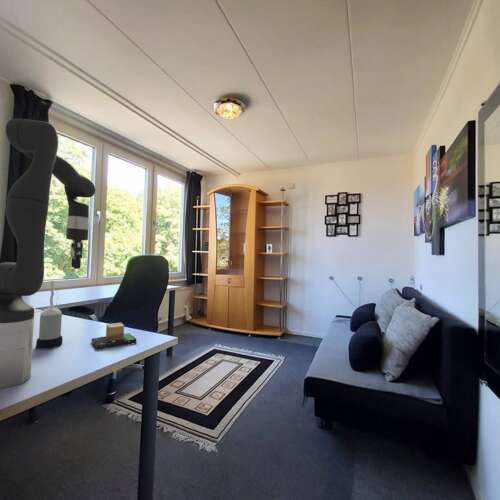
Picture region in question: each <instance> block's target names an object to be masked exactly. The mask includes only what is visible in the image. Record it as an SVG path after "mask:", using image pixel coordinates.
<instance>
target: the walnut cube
mask: <svg viewBox="0 0 500 500" xmlns="http://www.w3.org/2000/svg"><path fill="white" fill-rule="evenodd" d="M105 331H106V332H105V336H106V339H107V340H108V341H115V340H121V339H124V334H125V325H124V324H123V323H122V322H117V323H108V324H106V330H105Z"/></svg>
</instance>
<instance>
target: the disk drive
mask: <svg viewBox="0 0 500 500" xmlns="http://www.w3.org/2000/svg"><path fill="white" fill-rule="evenodd" d="M137 340H138V339H137V338H136V337H135V336H134V335H132V334H131V333H130V332H129V333H124V339H121V340H115V341H108V340H107V339H106V335H105V336H99V337H94V338H91V342H90V343H91V345H92V346H93V348H94V350H95V351H100V350H105V349H106V350H107V349H110V348H116V347H122V346H123V345H124V346H128V344H130V345H133V344H132V343H135V344H137ZM124 346H123V347H124Z"/></svg>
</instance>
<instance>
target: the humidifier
mask: <svg viewBox="0 0 500 500" xmlns="http://www.w3.org/2000/svg"><path fill="white" fill-rule="evenodd" d="M58 286H59V285H57V287H56V291H58V290H59V289H58ZM54 295H55V291H54V280H51V282H50V298H49V307H47V308H46V309H44V310H42V311H41V313H40V317H39V329H38V338H36V343H35V349H38V350H49V349H56V348H58V347H60V346H62V345H63V341H64V340H63V338H64V337H63V336H62V335H61V334H62V317H63V315H62V311H61V309H59V308H57V306H58V303H56V306H54V301H53V299H54ZM58 298H59V294H58V293H57V297H56V299H58Z"/></svg>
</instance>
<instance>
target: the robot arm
mask: <svg viewBox="0 0 500 500" xmlns="http://www.w3.org/2000/svg"><path fill="white" fill-rule="evenodd" d="M5 135H6V138H7V140H8V142H9V143H10V144H11V145H12V147H14V148H15V149H16V150H17V151H19V152H20V153H22V154H23V155H24V156H27V157H28V158H29V159H31V160H32V161H31V163H30V165H29V168H28V169H27V170H26V171H25V172H24V173H23V174H22V175H21V176H20V177H19V178H18V179H17V180H16V181H15V182H14V184H12V186H11V187H10V188H9V190H8V192H7V193H8V194H7V199H6V208H5V216H6V217H5V218H6V221H7V223H8V225H9V228H10V229H11V232H12V233H13V236H14V237H15V239H16V244H17V245H16V246H17V256H16V262H9V261H8V262H0V389H3V388H7V387H13V386H17V385H22V384H24V383H25V382H26V381H27V380H29V379H30V378H31V374H32V356H33V340H34V339H33V337H34V325H35V322H34V320H35V308H34V307H33V306H31V305H30V304H28V303H26V302H25V300H24V299H23V297H28V296H30V297H31V296H33V295H35V294H36V293H37V292H38V291H40V289H41V287H42V285H43V282H44V277H45V238H46V226H47V219H48V212H49V205H50V204H49V203H50V191H51V183H52V177H53V176H54V177H55V178H56V179H57V180H58V181H59V182H60V183H61V184H62V185H63V187H64V192H65V195H66V200H67V205H68V213H67V214H68V215H67V221H66V234H65V235H66V236H65V239H66V240H69V241H70V240H71V241H72V242H71V243H70V258H71V261H70V262H71V265H70V266H71V268H73V269H74V270H75V269H76V270H78V269H81V264H82V263H81V260H82V258H83V249H84V242H82V241H88V240H89V230H90V229H89V228H90V224H89V223H90V222H89V221H90V220H89V217H90V215H89V213H90V207H89V205H88V204H87V203H85V202H80V201H79V200H78V198H87V199H88V198H92V197H94V196H95V194H96V187H95V185H94V182H93V181H92V180H90V179H89V178H88V177H87V176H85V175H84V174H81V173H80V172H79V171H77V169H76V168H75V167H74V165H72V163H70V162H69V161H67V160H66V159H65V158H63V157H61V156H59V155H58V149H59V134H58V131H57V129H56V127H55V126H54V124H52V123H50V122H47V121H44V120H43V121H42V120H35V119H25V118H11V119H10V120H9V121H7V122H6V126H5Z"/></svg>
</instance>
